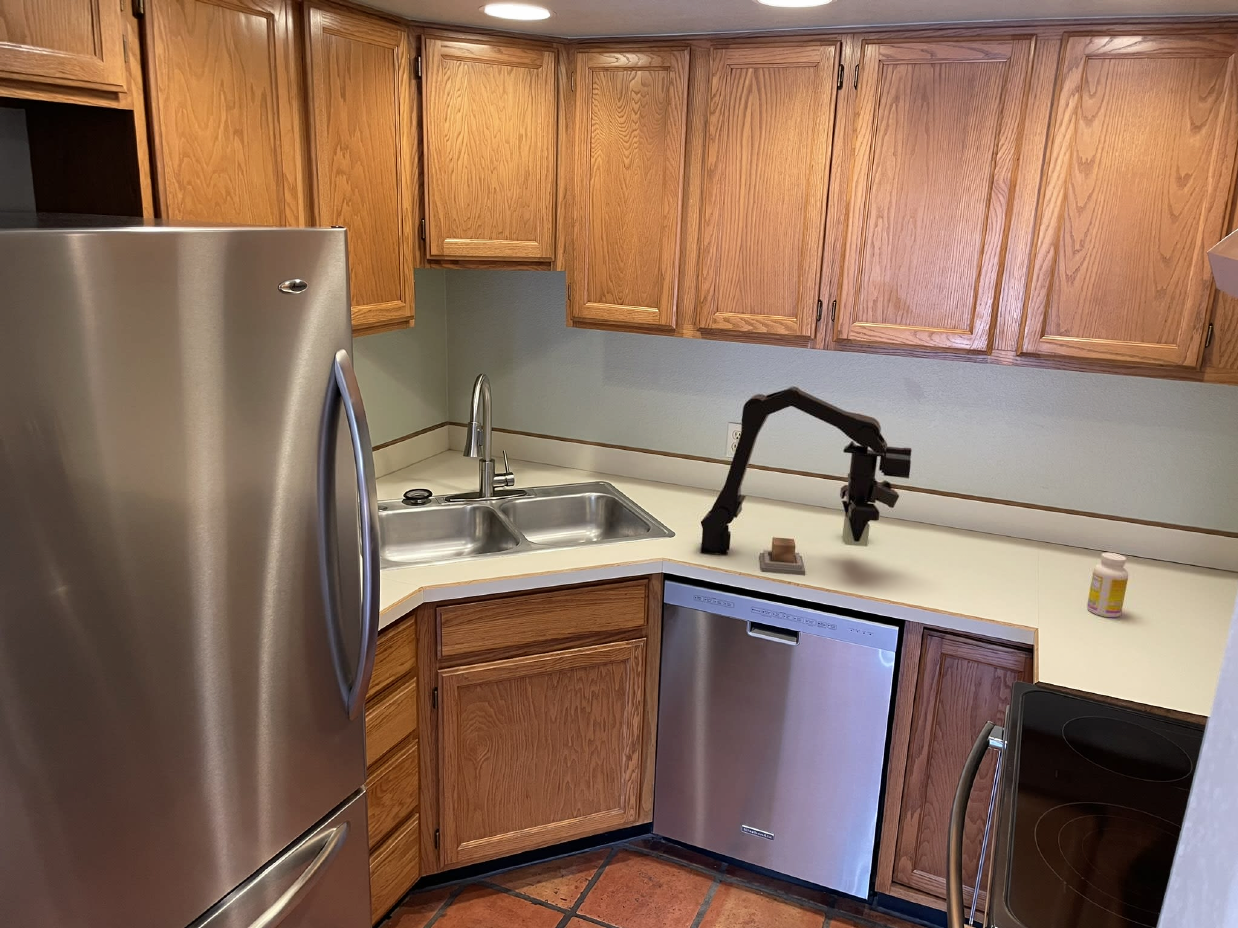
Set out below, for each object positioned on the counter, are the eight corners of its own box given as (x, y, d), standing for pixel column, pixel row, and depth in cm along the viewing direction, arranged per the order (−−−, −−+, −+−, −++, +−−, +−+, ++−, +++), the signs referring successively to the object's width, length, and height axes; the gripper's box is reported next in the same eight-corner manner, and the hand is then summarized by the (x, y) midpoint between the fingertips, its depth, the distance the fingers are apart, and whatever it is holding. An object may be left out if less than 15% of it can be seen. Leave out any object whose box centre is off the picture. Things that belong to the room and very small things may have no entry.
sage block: (845, 544, 210) (847, 524, 209) (842, 537, 215) (844, 517, 214) (867, 546, 210) (869, 525, 209) (863, 539, 215) (866, 518, 213)
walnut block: (771, 564, 213) (773, 544, 212) (770, 556, 218) (772, 537, 217) (793, 566, 213) (795, 545, 212) (791, 558, 218) (793, 538, 217)
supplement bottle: (1124, 612, 198) (1135, 556, 194) (1116, 621, 193) (1127, 564, 190) (1091, 603, 202) (1101, 548, 199) (1082, 611, 197) (1092, 555, 194)
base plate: (761, 571, 212) (762, 563, 211) (759, 556, 221) (760, 548, 221) (805, 574, 211) (805, 566, 210) (801, 559, 220) (802, 551, 220)
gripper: (906, 486, 199) (898, 554, 203) (890, 464, 217) (883, 527, 221) (854, 482, 200) (847, 550, 204) (843, 461, 218) (836, 523, 222)
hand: (854, 537), depth 212 cm, fingers closed on sage block, 5 cm apart
